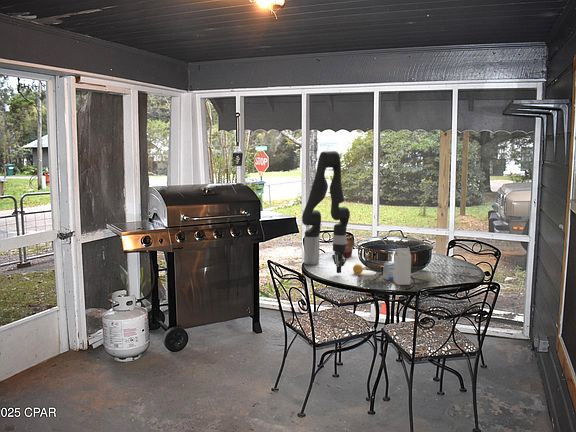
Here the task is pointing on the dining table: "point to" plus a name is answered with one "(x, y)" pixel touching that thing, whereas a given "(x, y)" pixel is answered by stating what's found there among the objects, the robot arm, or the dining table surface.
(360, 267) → the ball
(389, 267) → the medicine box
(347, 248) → the decorative planter
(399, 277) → the milk carton
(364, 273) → the disc
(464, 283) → the dining table surface
